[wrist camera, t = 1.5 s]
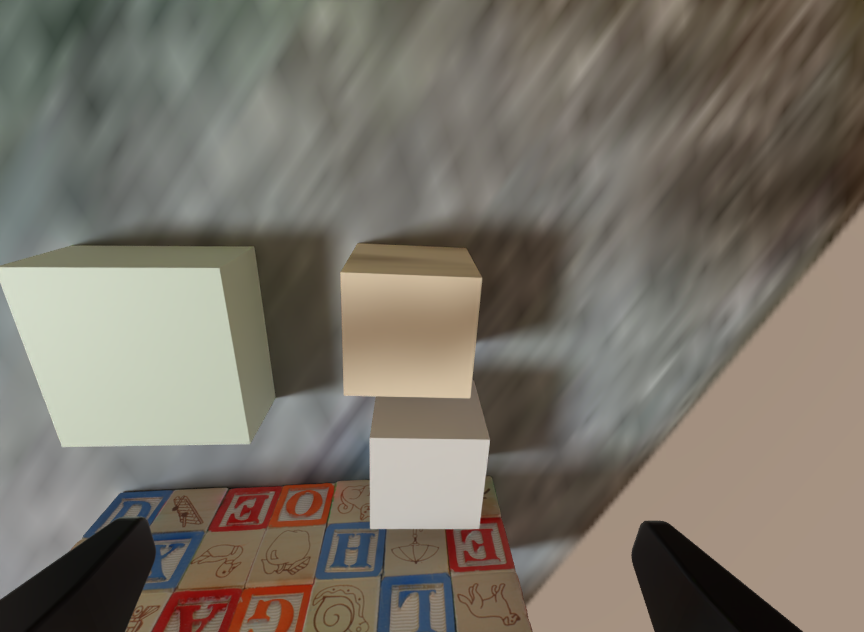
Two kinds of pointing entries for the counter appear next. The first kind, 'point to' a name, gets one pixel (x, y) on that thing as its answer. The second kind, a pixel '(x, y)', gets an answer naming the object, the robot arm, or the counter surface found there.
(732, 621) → the robot arm
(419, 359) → the maple cube
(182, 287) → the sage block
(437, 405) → the grey cube
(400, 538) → the stack of blocks
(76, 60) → the counter surface
